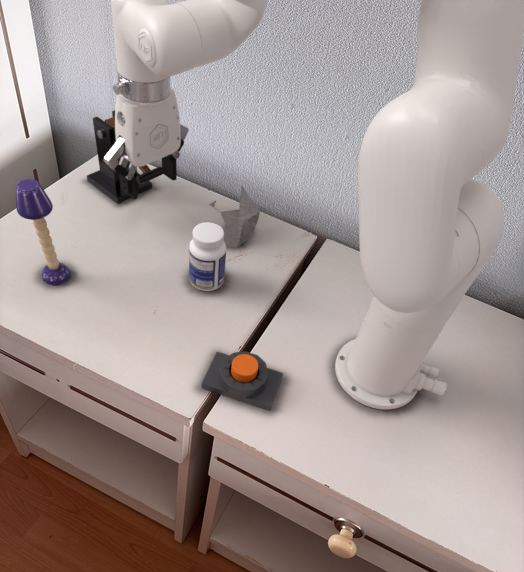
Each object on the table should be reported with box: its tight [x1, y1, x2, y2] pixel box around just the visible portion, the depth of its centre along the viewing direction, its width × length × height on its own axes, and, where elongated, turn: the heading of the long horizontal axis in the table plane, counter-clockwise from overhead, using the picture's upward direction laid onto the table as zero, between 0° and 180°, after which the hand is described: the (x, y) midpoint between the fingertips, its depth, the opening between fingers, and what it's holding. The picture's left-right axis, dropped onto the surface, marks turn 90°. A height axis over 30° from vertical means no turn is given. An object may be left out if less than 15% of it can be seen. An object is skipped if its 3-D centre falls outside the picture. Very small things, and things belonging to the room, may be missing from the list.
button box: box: [200, 350, 284, 412], centre depth 71 cm, size 10×6×3 cm, turn 73°
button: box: [231, 354, 258, 383], centre depth 70 cm, size 4×4×2 cm
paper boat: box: [208, 184, 261, 248], centre depth 90 cm, size 12×6×9 cm
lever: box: [104, 116, 164, 185], centre depth 88 cm, size 12×5×2 cm, turn 48°
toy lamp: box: [15, 178, 71, 286], centre depth 74 cm, size 5×5×17 cm
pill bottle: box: [188, 221, 227, 292], centre depth 80 cm, size 6×6×10 cm
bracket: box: [86, 109, 153, 205], centre depth 92 cm, size 9×8×13 cm
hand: (150, 185), depth 90 cm, fingers open, 8 cm apart
